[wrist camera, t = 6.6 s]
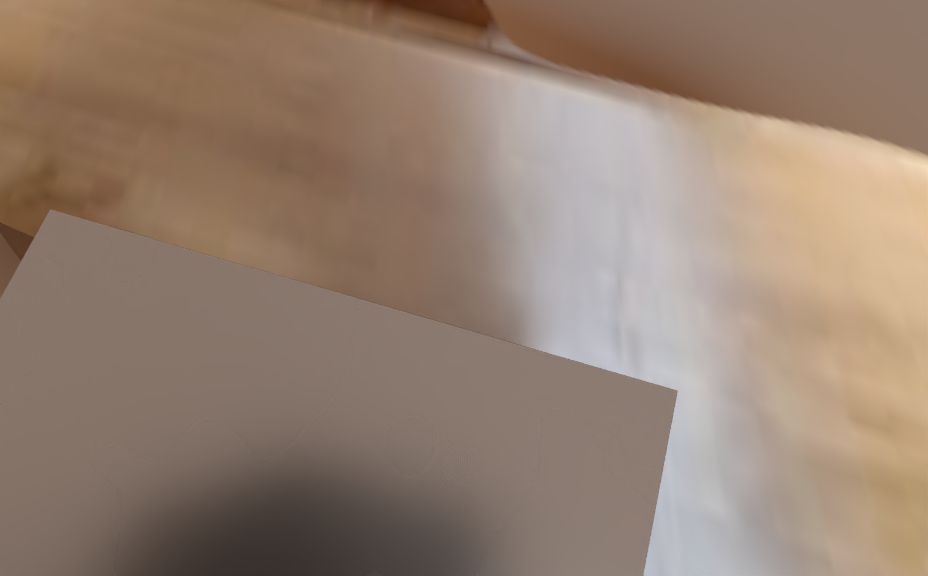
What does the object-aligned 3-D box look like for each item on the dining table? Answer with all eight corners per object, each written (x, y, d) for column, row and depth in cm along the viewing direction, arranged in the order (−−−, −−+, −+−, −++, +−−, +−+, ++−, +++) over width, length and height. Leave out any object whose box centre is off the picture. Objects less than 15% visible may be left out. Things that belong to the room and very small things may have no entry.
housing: (491, 655, 14) (547, 1702, 2) (267, 575, 15) (-523, 1083, 3) (551, 415, 16) (754, 347, 4) (348, 353, 16) (29, 146, 5)
